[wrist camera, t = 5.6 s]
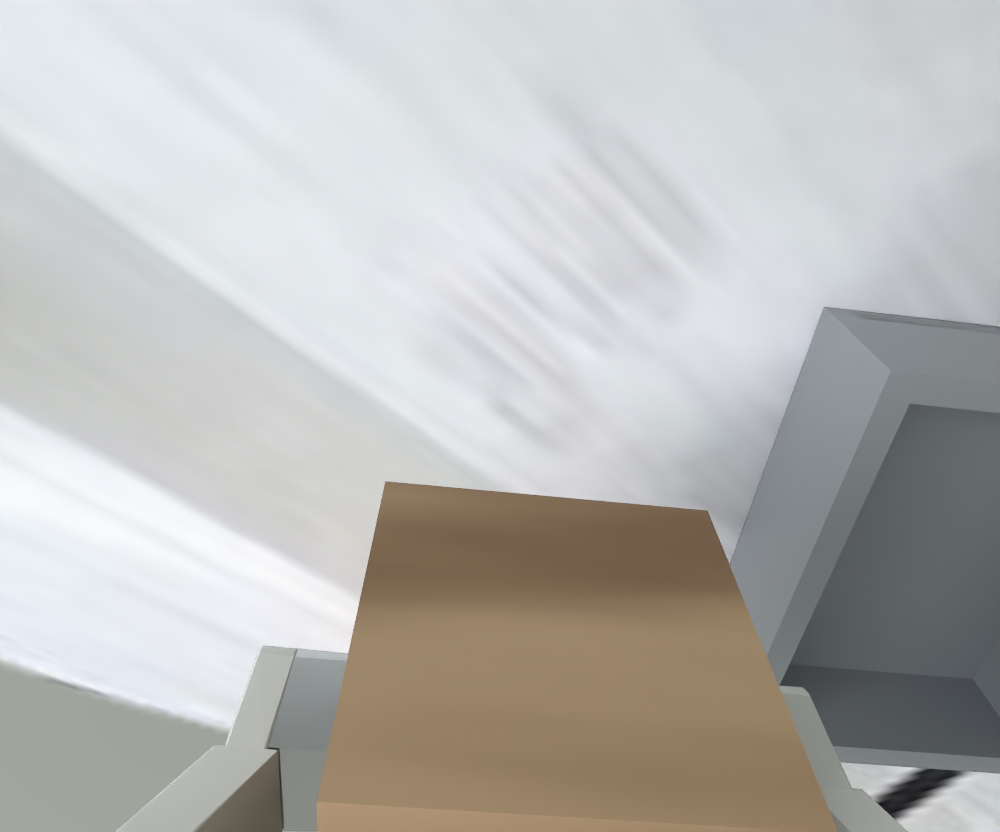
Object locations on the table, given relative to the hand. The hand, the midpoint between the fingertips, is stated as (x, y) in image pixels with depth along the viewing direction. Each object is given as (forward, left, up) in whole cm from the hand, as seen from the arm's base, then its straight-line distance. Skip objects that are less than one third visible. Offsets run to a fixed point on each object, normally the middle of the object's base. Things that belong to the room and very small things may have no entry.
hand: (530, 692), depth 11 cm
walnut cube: (0, 0, -2) cm, 2 cm away
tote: (+8, +18, -17) cm, 26 cm away
